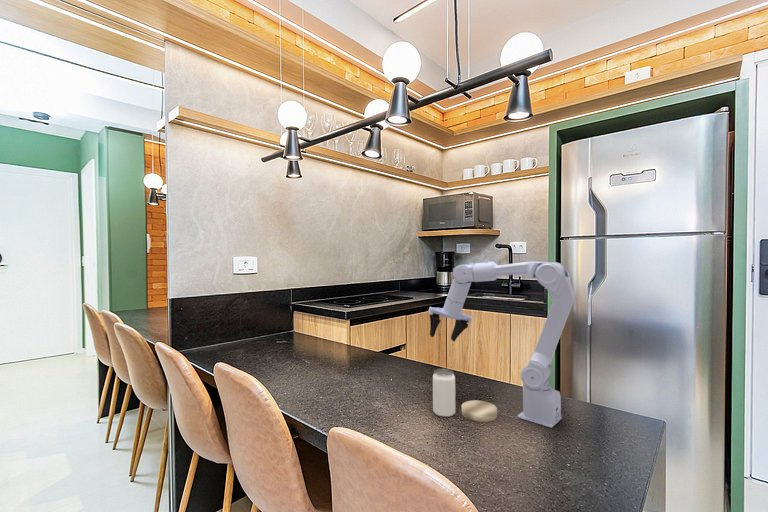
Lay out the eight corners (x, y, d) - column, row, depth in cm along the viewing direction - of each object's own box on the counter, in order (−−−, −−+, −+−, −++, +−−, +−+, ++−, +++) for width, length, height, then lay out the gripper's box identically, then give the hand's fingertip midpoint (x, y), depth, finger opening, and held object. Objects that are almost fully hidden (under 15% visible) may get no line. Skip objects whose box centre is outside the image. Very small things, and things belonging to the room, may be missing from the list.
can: (429, 414, 105) (429, 373, 105) (437, 406, 111) (437, 367, 111) (451, 419, 102) (451, 376, 102) (458, 410, 108) (457, 370, 108)
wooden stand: (503, 413, 105) (503, 406, 105) (486, 425, 98) (486, 418, 98) (472, 404, 112) (472, 397, 112) (454, 414, 105) (454, 407, 105)
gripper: (470, 300, 122) (457, 336, 125) (431, 290, 119) (418, 328, 122) (479, 308, 115) (465, 346, 118) (437, 298, 112) (424, 338, 115)
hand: (442, 337), depth 119 cm, fingers open, 7 cm apart
